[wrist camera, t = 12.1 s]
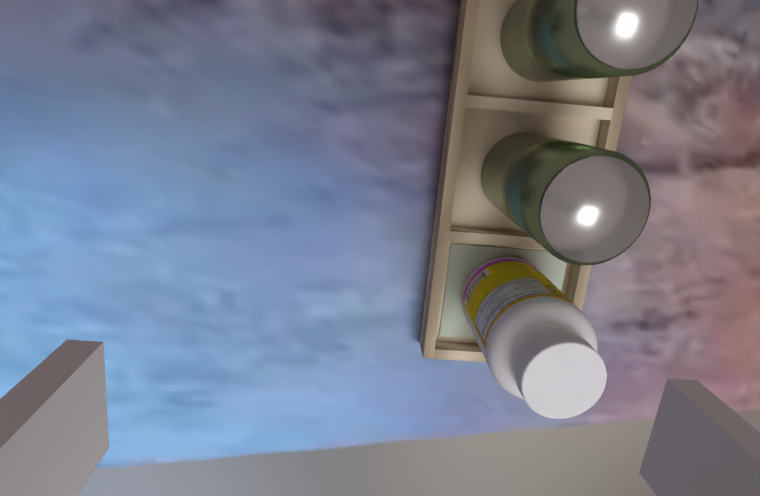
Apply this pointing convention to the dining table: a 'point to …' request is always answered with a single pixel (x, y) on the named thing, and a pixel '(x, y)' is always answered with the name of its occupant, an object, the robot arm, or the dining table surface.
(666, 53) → the can
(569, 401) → the supplement bottle
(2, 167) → the dining table surface
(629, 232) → the can
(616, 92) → the caddy
